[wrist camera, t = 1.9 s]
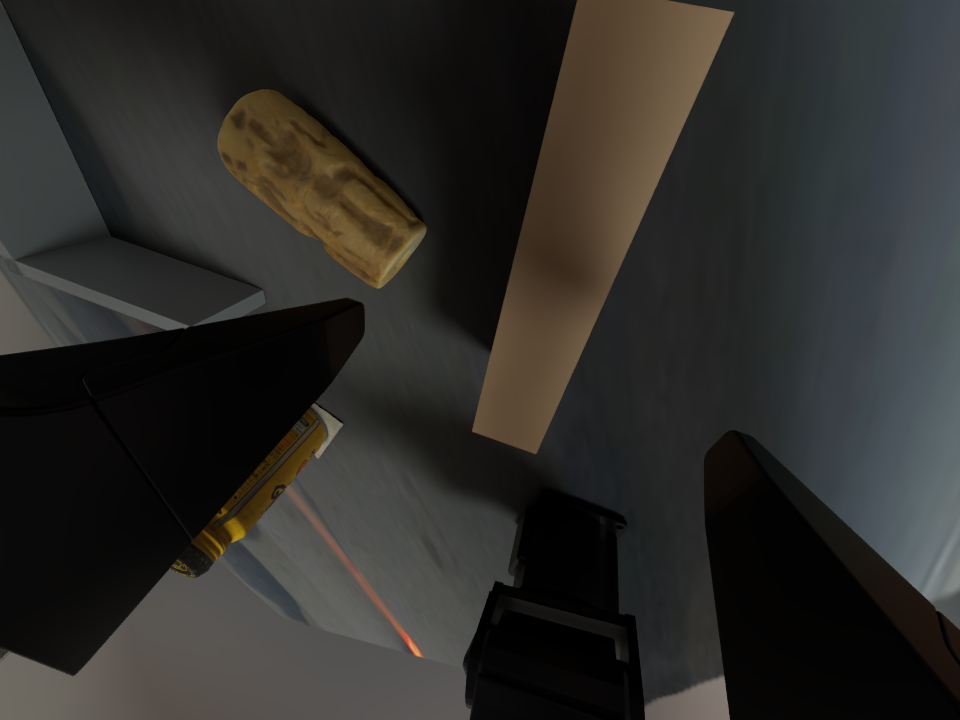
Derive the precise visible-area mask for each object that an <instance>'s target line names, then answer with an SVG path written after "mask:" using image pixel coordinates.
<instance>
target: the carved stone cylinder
mask: <svg viewBox="0 0 960 720" xmlns="http://www.w3.org/2000/svg"><path fill="white" fill-rule="evenodd" d="M218 151H219V154H220V156H221V159H222V161H223V163H224V164H225V166H226V167H227V169H228V170H229V171H230V172H231V173H232V175H233V176H234V177H236V178H237V179H238V180H239V181H240V182H241V183H242V184H243V185H245V186H246V188H247V189H248V190H250V191H251V192H252V193H253V194H255V195H256V196H257V197H258V198H259V199H260V200H262V201H263V202H264V203H266V204H267V205H268V206H269V207H271V208H272V209H273V210H274V211H275V212H276V213H278V214H279V215H280V216H281V217H283V218H284V219H285V220H286V221H287V222H288V223H290V224H291V225H292V226H293V227H294V228H295V229H297V230H298V231H299V232H301V233H303V234H304V235H307V236H310V237H312V238H315V239H318V240H320V241H322V242H323V244H324V247H325V250H326V251H327V252H328V254H329V255H330V256H331V257H332V258H334V259H335V260H336V261H337V262H339V263H340V264H341V265H343V266H344V267H345V268H347V269H348V270H349V271H350V272H352V273H353V274H355V275H356V276H358V277H360V278H361V279H362V280H363V281H365V282H366V283H367V284H369V285H370V286H372V287H374V288H381V287H383V286H384V285H385V284H386V283H387V282H388V281H389V280H391V279H392V277H393V276H394V275H395V274H396V273H397V272H398V271H399V270H400V269H401V268H402V266H403V265H404V264H405V263H406V261H407V260H408V258H409V257H410V256H411V254H412V253H413V252H414V251H415V249H416V248H417V247H418V245H419V244H420V242H421V241H422V239H423V238H424V236H425V234H426V231H427V227H426V225H425V224H424V223H423V222H422V221H421V220H419V219H418V218H417V217H416V216H415V214H414V212H413V211H412V210H411V209H410V208H409V207H408V206H407V205H406V204H405V203H404V201H403V200H402V199H401V198H400V197H399V196H398V195H397V194H396V193H395V192H394V191H393V190H392V189H391V188H390V187H389V186H388V185H387V184H386V183H385V182H384V181H382V180H381V179H379V178H377V177H375V176H374V174H373V173H372V172H371V171H370V170H369V169H367V167H366V166H365V165H364V164H363V163H362V162H361V160H360V159H359V158H358V157H356V156H355V155H354V154H353V153H352V152H351V151H350V150H349V149H348V148H347V147H346V146H345V145H344V144H342V143H341V142H340V141H339V140H338V139H337V138H336V137H334V136H332V135H331V134H330V133H329V132H328V130H327V129H325V128H324V127H323V126H322V125H321V124H320V123H319V122H318V121H316V120H315V119H314V118H313V117H311V116H309V115H308V114H307V113H306V112H305V111H304V110H303V109H301V108H300V107H299V106H297V105H295V104H294V103H293V102H292V101H291V100H289V99H287V98H285V97H284V96H283V95H282V94H281V93H279V92H277V91H274V90H268V89H266V90H264V89H262V90H258V91H255V92H251V93H249V94H247V95H245V96H243V97H242V98H240V99H239V100H238V101H237V102H236V103H235V105H234V106H233V108H232V109H231V110H230V112H229V113H228V114H227V116H226V117H225V119H224V121H223V125H222V127H221V129H220V132H219V135H218Z"/></svg>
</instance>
